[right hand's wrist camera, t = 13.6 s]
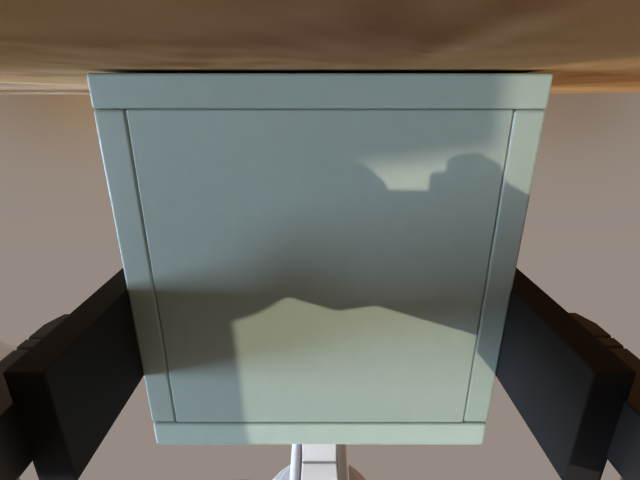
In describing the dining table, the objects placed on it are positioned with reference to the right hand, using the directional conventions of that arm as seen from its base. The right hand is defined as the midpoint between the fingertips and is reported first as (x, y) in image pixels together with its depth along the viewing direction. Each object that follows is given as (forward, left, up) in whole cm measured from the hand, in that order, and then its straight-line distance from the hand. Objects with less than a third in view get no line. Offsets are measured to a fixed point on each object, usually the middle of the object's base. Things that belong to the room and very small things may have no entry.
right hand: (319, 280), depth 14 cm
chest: (+1, -3, -6) cm, 7 cm away
